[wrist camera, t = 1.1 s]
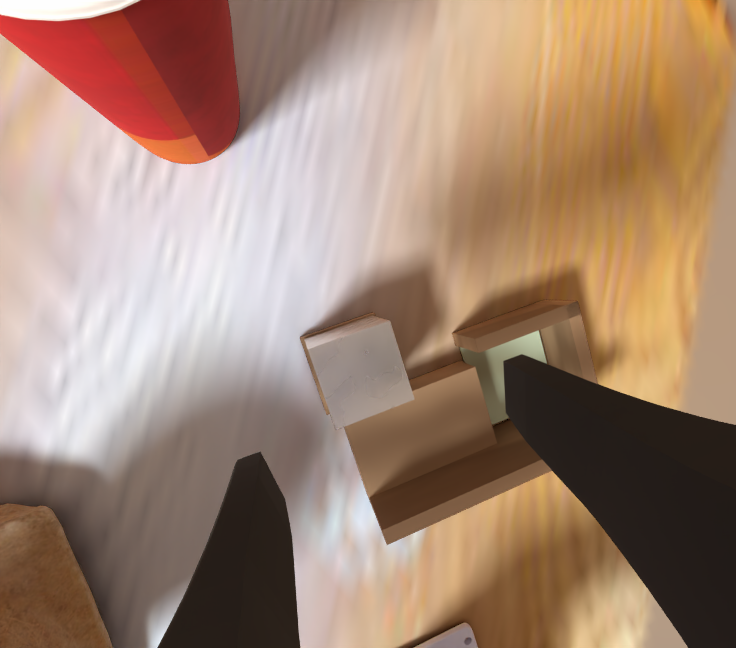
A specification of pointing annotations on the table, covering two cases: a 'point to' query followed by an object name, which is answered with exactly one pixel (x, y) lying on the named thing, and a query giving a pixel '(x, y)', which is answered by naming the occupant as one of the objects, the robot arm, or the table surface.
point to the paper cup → (140, 66)
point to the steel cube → (359, 370)
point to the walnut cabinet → (461, 421)
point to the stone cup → (43, 585)
